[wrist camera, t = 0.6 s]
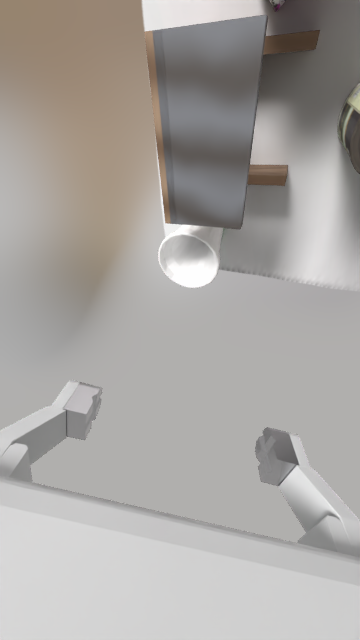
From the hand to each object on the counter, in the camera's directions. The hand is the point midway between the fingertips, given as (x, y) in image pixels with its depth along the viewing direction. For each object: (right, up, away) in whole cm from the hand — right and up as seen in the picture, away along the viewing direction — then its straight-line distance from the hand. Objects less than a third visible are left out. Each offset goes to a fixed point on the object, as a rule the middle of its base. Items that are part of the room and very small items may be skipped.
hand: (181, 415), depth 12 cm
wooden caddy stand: (+12, +39, +29) cm, 50 cm away
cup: (+6, +27, +45) cm, 53 cm away
